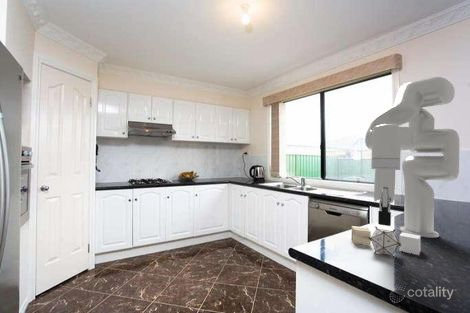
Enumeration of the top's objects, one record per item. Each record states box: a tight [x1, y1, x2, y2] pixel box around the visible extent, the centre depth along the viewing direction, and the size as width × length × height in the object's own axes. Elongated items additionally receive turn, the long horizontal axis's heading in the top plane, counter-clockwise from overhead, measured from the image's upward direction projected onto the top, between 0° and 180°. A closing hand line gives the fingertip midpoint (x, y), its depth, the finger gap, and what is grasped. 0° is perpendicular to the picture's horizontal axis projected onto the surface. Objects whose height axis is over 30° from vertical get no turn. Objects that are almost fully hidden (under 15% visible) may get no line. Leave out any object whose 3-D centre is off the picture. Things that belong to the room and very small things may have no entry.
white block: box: [398, 231, 422, 256], centre depth 75 cm, size 5×5×5 cm
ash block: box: [351, 225, 372, 246], centre depth 82 cm, size 5×5×5 cm
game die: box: [368, 226, 401, 259], centre depth 71 cm, size 9×8×10 cm
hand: (384, 224), depth 71 cm, fingers closed
